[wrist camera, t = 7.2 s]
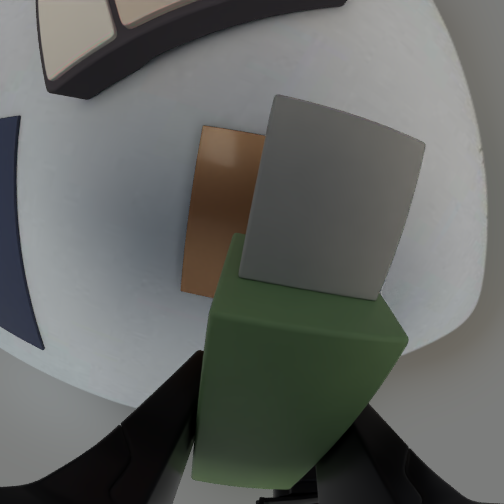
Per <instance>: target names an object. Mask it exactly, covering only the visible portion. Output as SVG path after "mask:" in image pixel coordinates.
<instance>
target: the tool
mask: <svg viewBox="0 0 504 504" xmlns="http://www.w3.org/2000/svg"><path fill="white" fill-rule="evenodd" d="M424 151H425V143H424V142H422V141H420V140H418V139H415V138H413V137H411V136H408V135H406V134H404V133H401V132H399V131H397V130H394V129H392V128H389V127H387V126H384V125H381V124H379V123H376V122H373V121H371V120H368V119H365V118H362V117H359V116H356V115H353V114H350V113H347V112H344V111H341V110H337V109H334V108H331V107H327V106H323V105H320V104H316V103H312V102H309V101H305V100H300V99H296V98H292V97H288V96H283V95H275V97H274V100H273V104H272V108H271V112H270V117H269V122H268V127H267V131H266V136H265V141H264V146H263V151H262V156H261V160H260V165H259V170H258V175H257V180H256V185H255V190H254V195H253V200H252V205H251V210H250V215H249V220H248V225H247V230H246V234H241V233H234V235H233V237H232V240H231V243H230V246H229V249H228V253H227V256H226V259H225V262H224V265H223V269H222V272H221V275H220V278H219V282H218V285H217V288H216V291H215V295H214V298H213V301H212V305H211V308H210V311H209V316H208V323H207V331H206V339H205V346H204V354H203V363H202V371H201V380H200V389H199V398H198V408H197V418H196V428H195V439H194V450H193V464H192V479H193V480H197V481H203V482H209V483H214V484H221V485H229V486H237V487H248V488H262V489H290V488H291V487H292V486H293V485H294V484H296V483H297V482H298V481H299V480H300V479H301V478H302V477H303V476H304V475H305V474H306V473H307V472H308V471H309V470H310V469H311V468H312V467H313V466H314V465H315V464H316V463H317V462H318V461H319V460H320V459H321V458H322V457H323V456H324V455H325V454H326V453H327V452H328V451H329V450H330V449H331V448H332V447H333V445H334V444H335V443H336V442H337V441H338V440H339V439H340V438H341V436H342V435H343V434H344V433H345V432H346V431H347V429H348V428H349V427H350V426H351V425H352V423H353V422H354V421H355V420H356V418H357V417H358V416H359V415H360V413H361V412H362V411H363V409H364V408H365V407H366V406H367V404H368V403H369V401H370V400H371V399H372V397H373V396H374V395H375V393H376V392H377V390H378V389H379V388H380V386H381V385H382V383H383V382H384V380H385V379H386V377H387V376H388V374H389V373H390V371H391V370H392V368H393V367H394V365H395V363H396V362H397V360H398V359H399V357H400V356H401V354H402V352H403V351H404V349H405V347H406V346H407V344H408V336H407V335H406V333H405V332H404V330H403V328H402V327H401V325H400V324H399V322H398V321H397V319H396V317H395V316H394V314H393V313H392V311H391V310H390V308H389V307H388V305H387V304H386V302H385V301H384V299H383V298H382V296H381V295H380V290H381V288H382V286H383V283H384V281H385V278H386V276H387V273H388V271H389V268H390V265H391V263H392V260H393V257H394V255H395V252H396V249H397V246H398V244H399V241H400V238H401V235H402V232H403V229H404V226H405V223H406V219H407V216H408V213H409V210H410V206H411V203H412V199H413V196H414V192H415V188H416V185H417V181H418V177H419V173H420V168H421V164H422V160H423V155H424Z"/></svg>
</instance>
